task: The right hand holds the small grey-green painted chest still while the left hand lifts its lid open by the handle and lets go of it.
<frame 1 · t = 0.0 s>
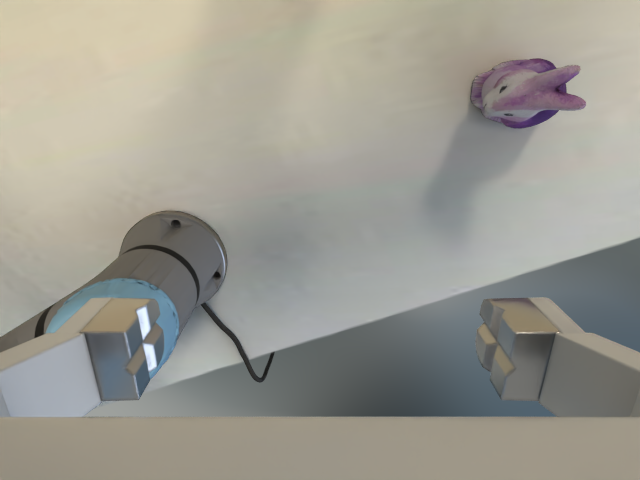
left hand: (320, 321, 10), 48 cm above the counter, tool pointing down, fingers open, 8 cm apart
figurine: (503, 95, 54), on the counter
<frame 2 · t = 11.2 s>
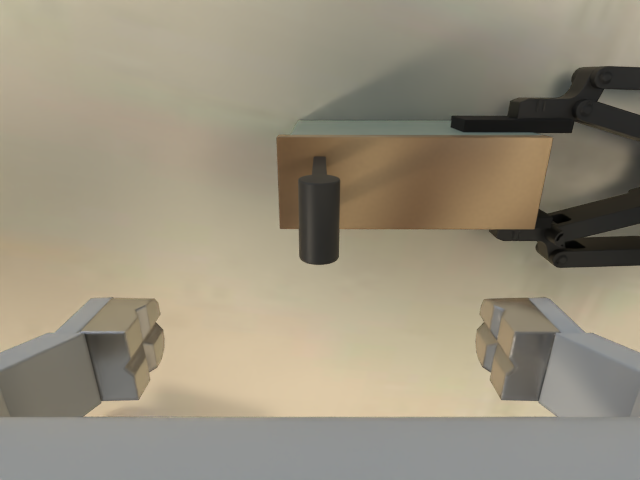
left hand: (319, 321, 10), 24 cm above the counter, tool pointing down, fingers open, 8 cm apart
right hand: (452, 172, 27), fingers closed on chest, 5 cm apart
lid: (422, 199, 21), point 13 cm above the counter, hinge at 0.0°
chest: (390, 155, 33), on the counter, touching right hand
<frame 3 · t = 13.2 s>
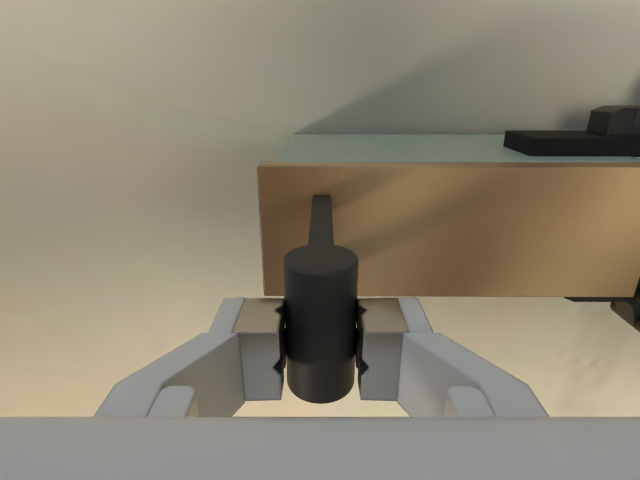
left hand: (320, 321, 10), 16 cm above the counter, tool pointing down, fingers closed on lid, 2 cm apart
lid: (484, 269, 13), point 13 cm above the counter, hinge at -0.2°, touching left hand
chest: (413, 178, 25), on the counter, touching right hand
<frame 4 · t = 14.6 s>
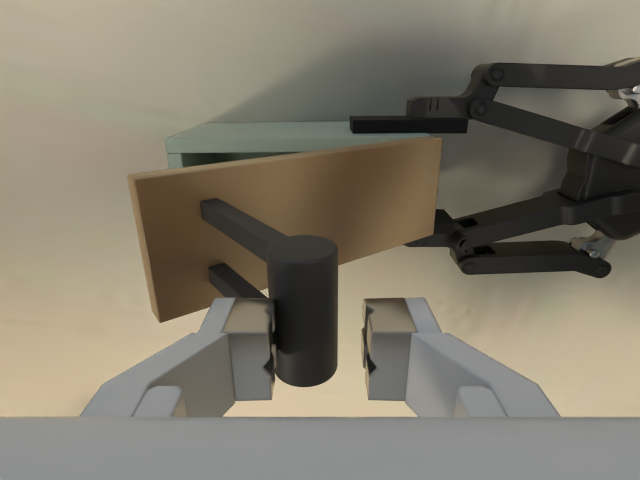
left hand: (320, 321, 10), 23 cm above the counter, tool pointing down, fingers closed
right hand: (350, 175, 26), fingers closed on chest, 5 cm apart
lid: (371, 233, 16), point 17 cm above the counter, hinge at 35.7°, touching left hand
chest: (304, 158, 31), on the counter, touching right hand
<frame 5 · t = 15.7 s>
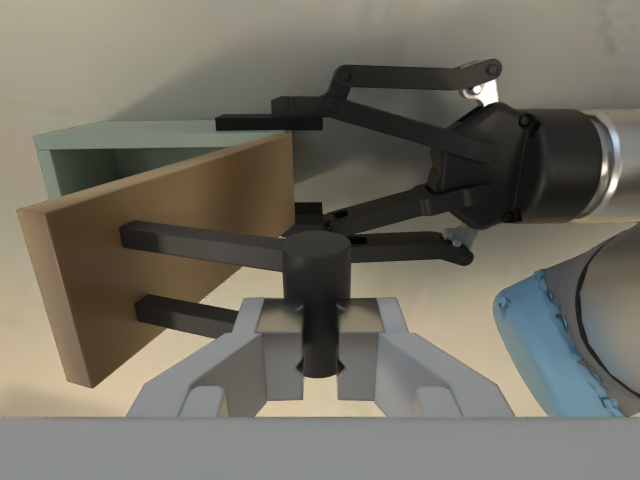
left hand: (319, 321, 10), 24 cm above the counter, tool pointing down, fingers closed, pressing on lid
right hand: (225, 169, 27), fingers closed on chest, 5 cm apart
lid: (288, 228, 17), point 18 cm above the counter, hinge at 69.2°, touching left hand
chest: (201, 154, 33), on the counter, touching right hand
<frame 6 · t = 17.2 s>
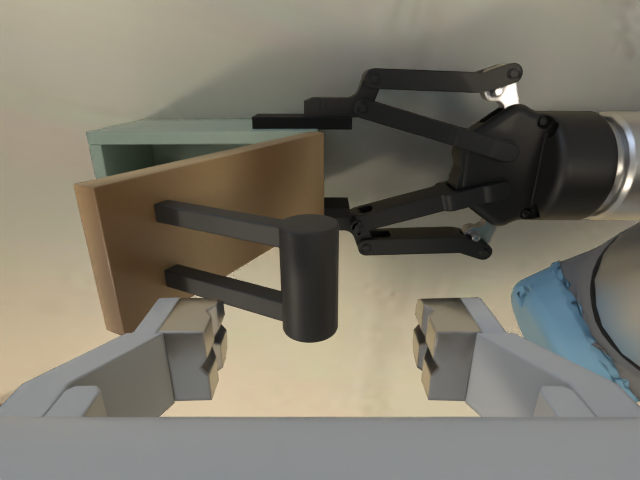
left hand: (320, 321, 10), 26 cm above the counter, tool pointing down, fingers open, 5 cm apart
right hand: (258, 165, 29), fingers closed on chest, 5 cm apart
lid: (305, 216, 18), point 18 cm above the counter, hinge at 62.5°
chest: (232, 151, 35), on the counter, touching right hand
when the right hand's fingers open (6 cm above the counter, at t = 20.0 s): chest stays where it is, on the counter.
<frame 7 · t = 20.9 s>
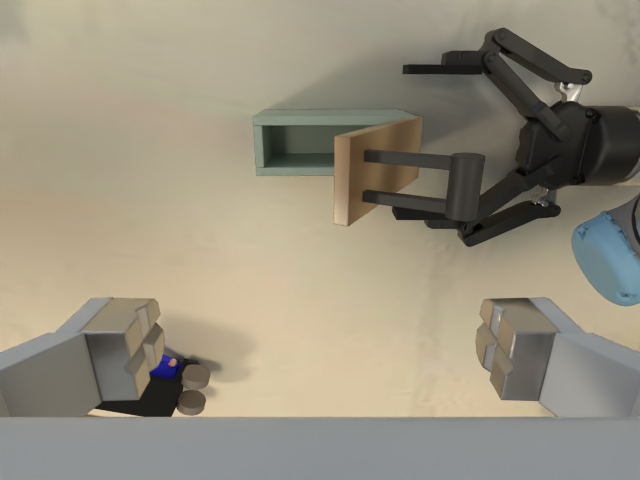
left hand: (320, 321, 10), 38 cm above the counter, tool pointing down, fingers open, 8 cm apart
right hand: (399, 145, 40), fingers open, 13 cm apart
figurine character: (159, 361, 57), on the counter
lid: (432, 165, 29), point 18 cm above the counter, hinge at 61.4°
chest: (331, 134, 46), on the counter
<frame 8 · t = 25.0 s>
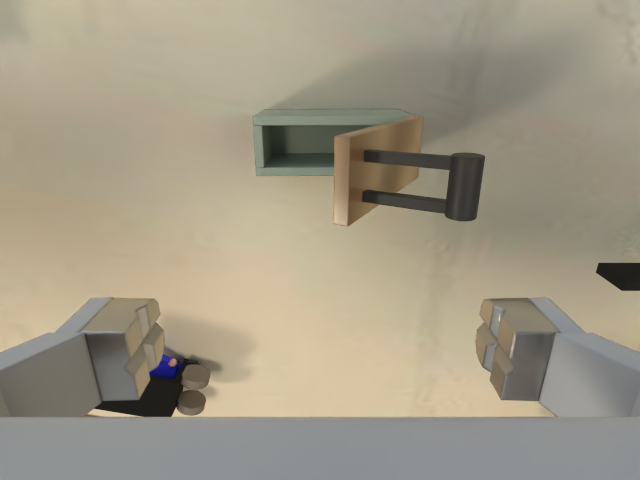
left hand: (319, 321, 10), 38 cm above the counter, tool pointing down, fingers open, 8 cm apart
figurine character: (159, 361, 57), on the counter
lid: (432, 165, 29), point 18 cm above the counter, hinge at 61.4°
chest: (331, 134, 46), on the counter
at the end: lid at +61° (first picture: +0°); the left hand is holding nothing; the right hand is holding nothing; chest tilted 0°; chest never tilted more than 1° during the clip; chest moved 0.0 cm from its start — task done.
